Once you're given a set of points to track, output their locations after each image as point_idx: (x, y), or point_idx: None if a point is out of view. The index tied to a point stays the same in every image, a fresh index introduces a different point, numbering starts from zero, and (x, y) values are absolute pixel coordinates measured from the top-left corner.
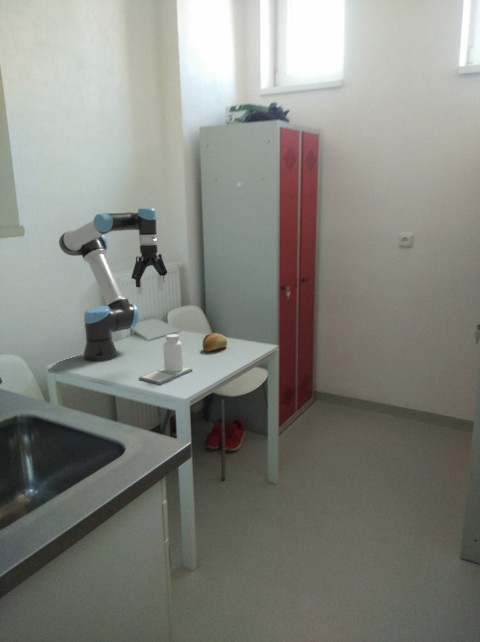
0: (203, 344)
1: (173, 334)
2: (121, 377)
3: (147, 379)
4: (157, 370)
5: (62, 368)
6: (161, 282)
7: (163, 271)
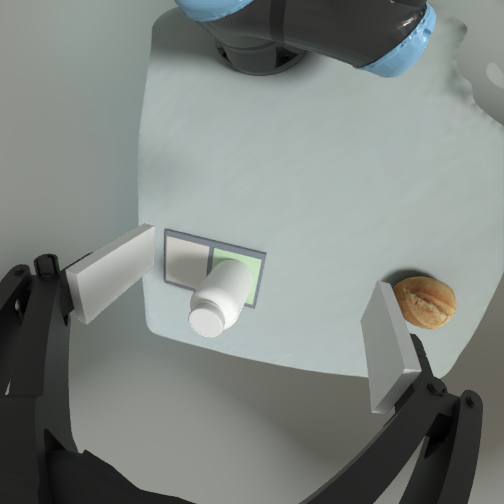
0: (403, 288)
1: (216, 322)
2: (160, 188)
3: (165, 251)
4: (216, 244)
5: (158, 37)
6: (372, 353)
7: (441, 429)
